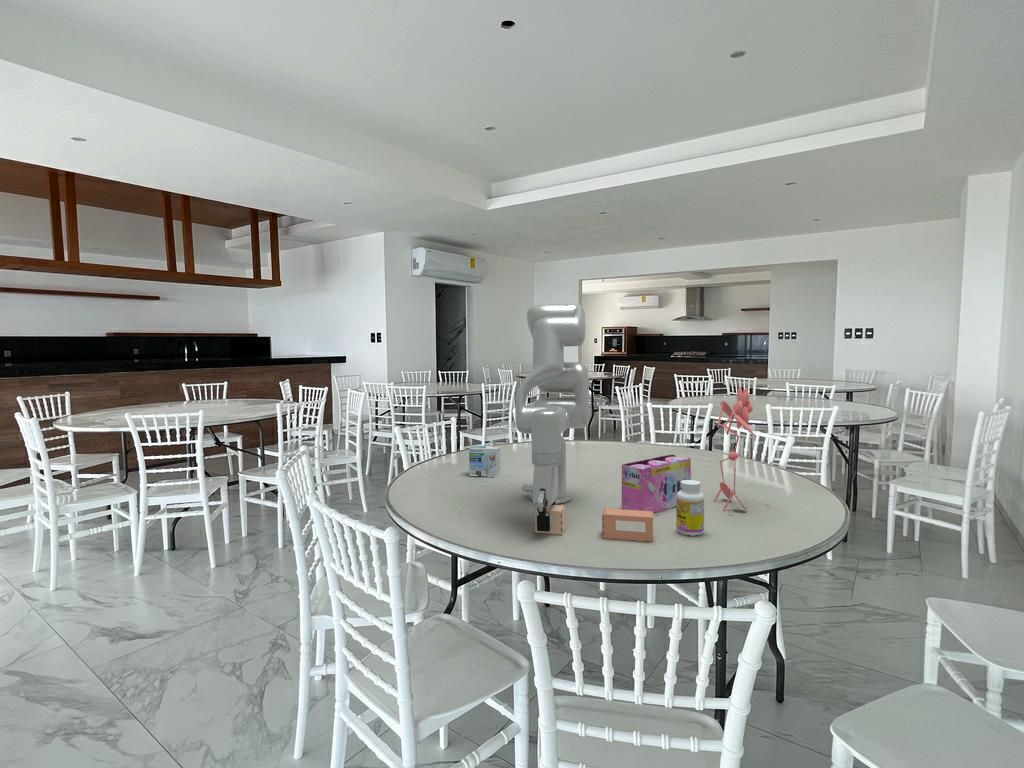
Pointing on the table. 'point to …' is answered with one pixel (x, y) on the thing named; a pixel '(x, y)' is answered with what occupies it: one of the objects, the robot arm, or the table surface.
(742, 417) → the figurine
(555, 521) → the beige boxy piece
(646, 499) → the gum box
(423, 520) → the table surface
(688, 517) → the supplement bottle
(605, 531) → the cardboard box
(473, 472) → the light bulb box
